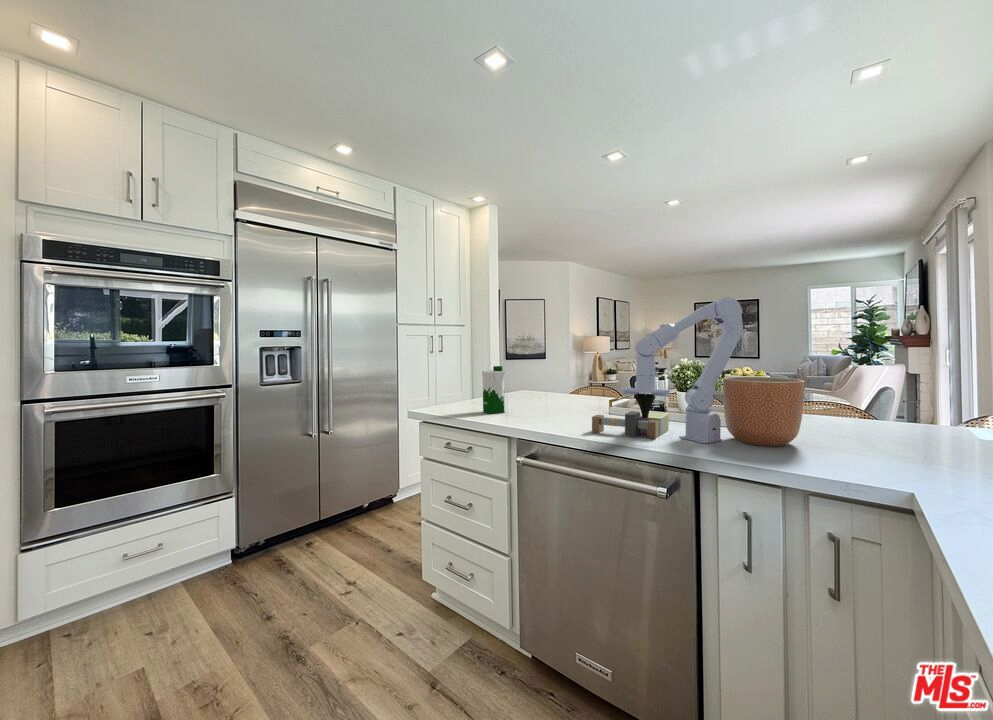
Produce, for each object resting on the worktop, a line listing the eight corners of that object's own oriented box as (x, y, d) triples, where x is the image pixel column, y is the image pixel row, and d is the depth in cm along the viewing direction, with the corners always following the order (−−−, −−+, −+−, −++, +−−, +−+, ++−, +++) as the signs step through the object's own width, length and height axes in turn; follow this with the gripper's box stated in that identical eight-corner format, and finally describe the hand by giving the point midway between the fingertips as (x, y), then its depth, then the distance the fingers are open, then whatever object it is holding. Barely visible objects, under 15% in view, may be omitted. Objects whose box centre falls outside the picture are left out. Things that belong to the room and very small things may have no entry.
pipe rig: (658, 436, 139) (658, 420, 139) (655, 439, 135) (655, 422, 135) (596, 430, 150) (597, 414, 150) (591, 432, 146) (592, 416, 145)
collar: (640, 433, 143) (640, 411, 143) (634, 436, 137) (634, 414, 137) (630, 432, 145) (630, 411, 144) (624, 435, 139) (625, 414, 139)
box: (638, 427, 155) (628, 432, 146) (638, 411, 155) (628, 415, 145) (668, 430, 149) (660, 436, 140) (669, 413, 149) (660, 418, 140)
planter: (706, 437, 137) (707, 377, 136) (754, 432, 144) (755, 375, 143) (768, 453, 117) (770, 383, 117) (820, 446, 125) (822, 380, 124)
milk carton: (507, 413, 187) (507, 366, 187) (488, 414, 184) (487, 367, 183) (498, 410, 195) (498, 365, 195) (480, 411, 192) (479, 366, 191)
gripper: (672, 375, 138) (671, 418, 138) (626, 373, 145) (625, 414, 146) (667, 376, 132) (667, 421, 132) (620, 375, 139) (619, 417, 140)
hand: (645, 417), depth 139 cm, fingers closed
